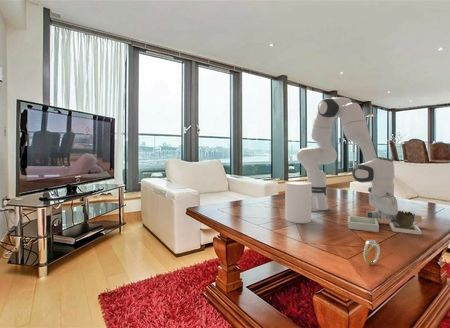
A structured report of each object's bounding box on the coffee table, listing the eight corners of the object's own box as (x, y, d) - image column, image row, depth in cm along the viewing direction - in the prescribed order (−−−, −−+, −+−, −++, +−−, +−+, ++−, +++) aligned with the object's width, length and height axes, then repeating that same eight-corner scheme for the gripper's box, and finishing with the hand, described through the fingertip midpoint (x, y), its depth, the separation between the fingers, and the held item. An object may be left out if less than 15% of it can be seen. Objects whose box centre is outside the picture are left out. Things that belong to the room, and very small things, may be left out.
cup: (417, 232, 110) (418, 214, 110) (399, 231, 112) (399, 214, 111) (409, 227, 118) (409, 210, 117) (391, 226, 119) (392, 210, 119)
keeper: (392, 231, 112) (392, 228, 112) (389, 225, 122) (389, 222, 122) (421, 234, 108) (421, 231, 108) (415, 227, 117) (415, 224, 117)
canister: (283, 216, 141) (283, 181, 140) (307, 216, 140) (307, 181, 139) (287, 223, 127) (288, 184, 126) (314, 223, 127) (314, 184, 125)
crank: (419, 220, 121) (419, 211, 121) (422, 223, 116) (422, 214, 115) (366, 215, 131) (366, 207, 131) (367, 218, 126) (367, 210, 125)
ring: (374, 260, 84) (374, 237, 83) (383, 264, 81) (384, 240, 80) (359, 264, 81) (360, 240, 81) (368, 268, 78) (369, 243, 78)
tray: (348, 228, 117) (348, 222, 117) (348, 221, 128) (348, 215, 128) (378, 232, 112) (378, 225, 111) (376, 224, 123) (376, 218, 123)
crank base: (391, 224, 122) (391, 220, 122) (389, 222, 126) (389, 218, 126) (404, 226, 119) (404, 222, 119) (402, 223, 124) (402, 219, 124)
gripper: (402, 195, 107) (401, 226, 108) (379, 187, 128) (379, 214, 128) (387, 195, 108) (386, 226, 109) (366, 187, 128) (366, 213, 129)
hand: (382, 219), depth 119 cm, fingers closed
